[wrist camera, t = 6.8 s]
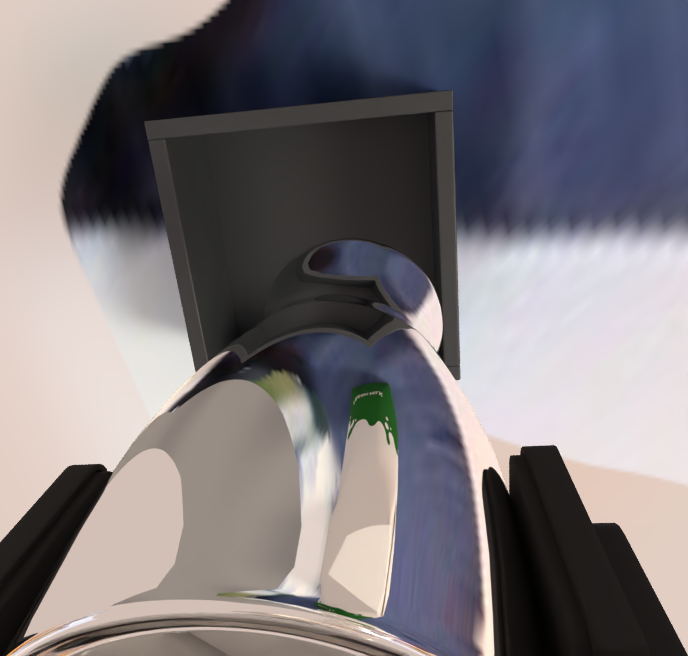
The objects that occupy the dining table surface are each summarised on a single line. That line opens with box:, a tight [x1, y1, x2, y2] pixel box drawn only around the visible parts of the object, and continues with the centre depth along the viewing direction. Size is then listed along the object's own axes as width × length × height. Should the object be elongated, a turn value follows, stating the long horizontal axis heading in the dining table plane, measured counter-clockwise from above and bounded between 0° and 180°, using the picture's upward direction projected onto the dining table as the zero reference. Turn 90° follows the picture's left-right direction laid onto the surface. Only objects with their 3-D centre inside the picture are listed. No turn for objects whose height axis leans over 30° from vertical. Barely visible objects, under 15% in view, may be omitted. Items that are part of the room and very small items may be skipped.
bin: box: [144, 90, 460, 380], centre depth 31 cm, size 14×14×7 cm
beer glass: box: [0, 238, 545, 656], centre depth 13 cm, size 7×7×15 cm
